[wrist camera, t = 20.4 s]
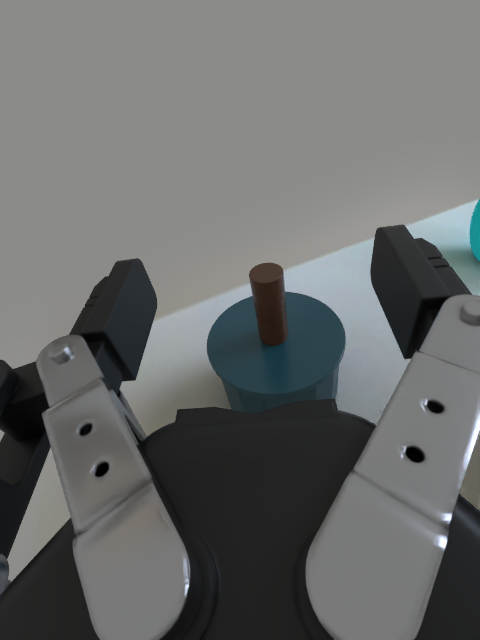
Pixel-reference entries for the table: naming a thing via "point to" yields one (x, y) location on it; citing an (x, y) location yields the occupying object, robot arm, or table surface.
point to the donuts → (475, 231)
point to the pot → (259, 404)
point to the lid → (275, 339)
